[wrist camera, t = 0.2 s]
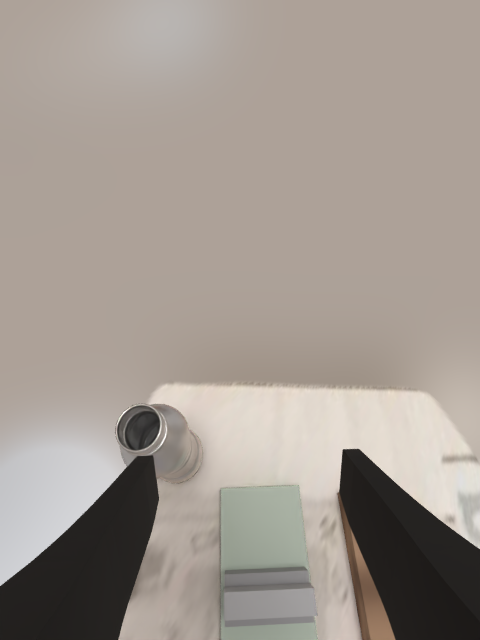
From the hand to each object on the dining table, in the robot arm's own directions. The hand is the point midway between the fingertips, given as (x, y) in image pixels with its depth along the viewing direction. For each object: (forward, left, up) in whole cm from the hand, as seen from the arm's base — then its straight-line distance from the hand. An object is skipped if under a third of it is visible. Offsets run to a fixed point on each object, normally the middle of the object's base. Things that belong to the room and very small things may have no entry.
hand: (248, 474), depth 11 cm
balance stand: (-10, -3, -31) cm, 33 cm away
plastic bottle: (+4, +8, -31) cm, 32 cm away
